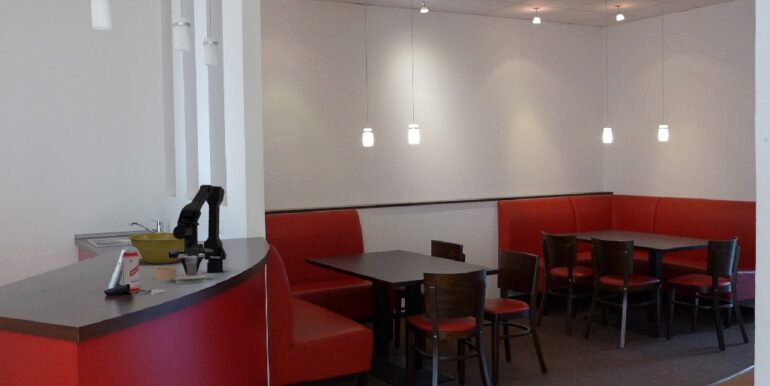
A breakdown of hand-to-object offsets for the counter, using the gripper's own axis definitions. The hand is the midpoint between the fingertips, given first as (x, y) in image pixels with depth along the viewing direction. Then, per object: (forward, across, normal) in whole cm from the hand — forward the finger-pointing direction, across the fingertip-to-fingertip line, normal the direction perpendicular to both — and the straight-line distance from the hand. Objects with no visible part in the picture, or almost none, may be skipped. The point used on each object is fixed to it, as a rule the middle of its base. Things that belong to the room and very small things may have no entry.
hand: (191, 273), depth 309 cm
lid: (+1, 0, 0) cm, 1 cm away
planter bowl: (+4, -7, +67) cm, 67 cm away
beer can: (+4, -25, -18) cm, 31 cm away
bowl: (+3, -10, +11) cm, 15 cm away
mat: (+3, 0, 0) cm, 3 cm away
